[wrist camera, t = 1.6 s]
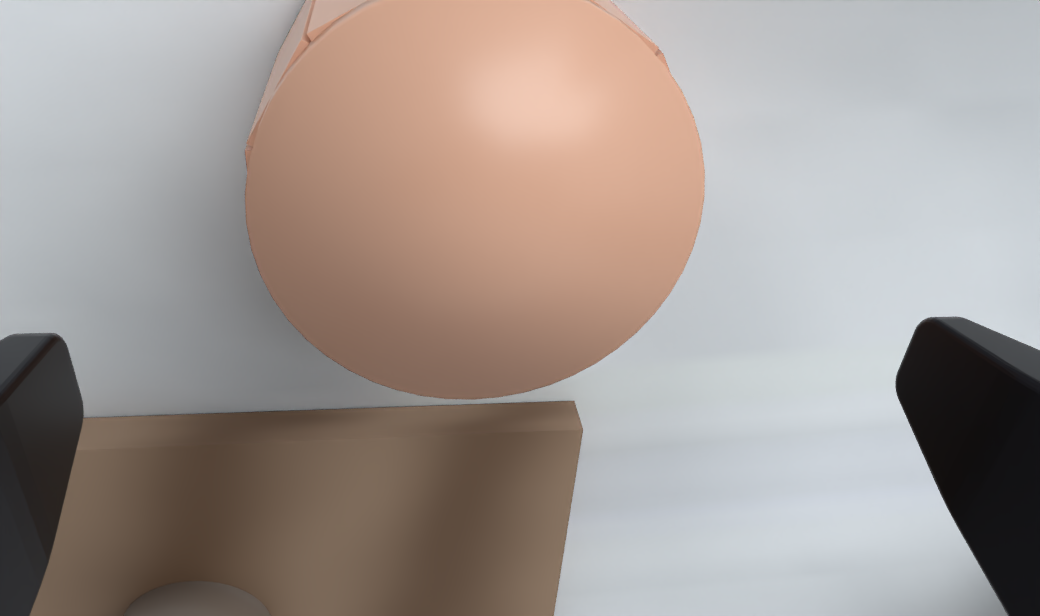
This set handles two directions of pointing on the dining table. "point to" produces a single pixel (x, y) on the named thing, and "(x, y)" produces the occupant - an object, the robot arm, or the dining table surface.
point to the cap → (471, 188)
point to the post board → (317, 513)
